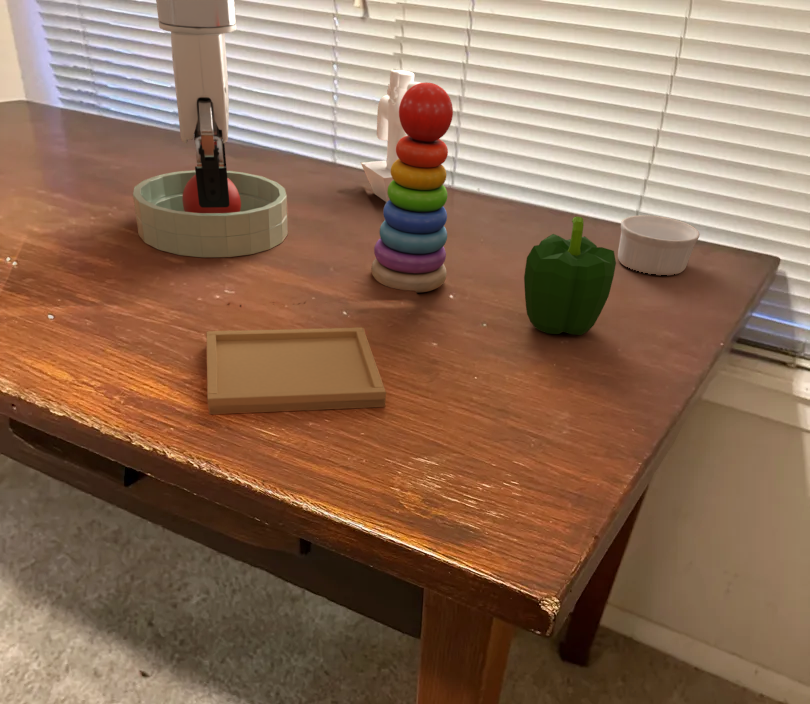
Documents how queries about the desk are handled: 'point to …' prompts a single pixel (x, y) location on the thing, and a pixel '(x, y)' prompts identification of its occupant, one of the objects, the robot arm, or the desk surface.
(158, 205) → the bowl
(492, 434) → the desk surface
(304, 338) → the tray
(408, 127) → the stacking toy
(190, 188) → the red round based ball
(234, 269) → the desk surface
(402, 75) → the figurine
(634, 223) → the ramekin
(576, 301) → the bell pepper
